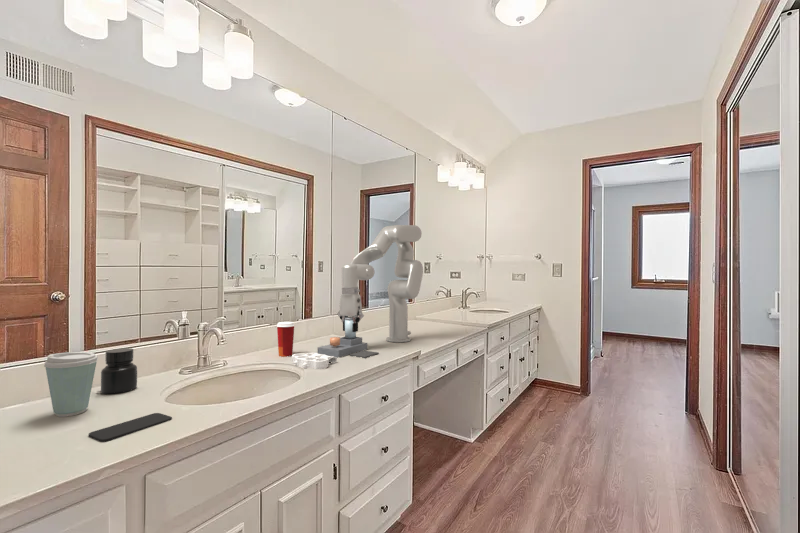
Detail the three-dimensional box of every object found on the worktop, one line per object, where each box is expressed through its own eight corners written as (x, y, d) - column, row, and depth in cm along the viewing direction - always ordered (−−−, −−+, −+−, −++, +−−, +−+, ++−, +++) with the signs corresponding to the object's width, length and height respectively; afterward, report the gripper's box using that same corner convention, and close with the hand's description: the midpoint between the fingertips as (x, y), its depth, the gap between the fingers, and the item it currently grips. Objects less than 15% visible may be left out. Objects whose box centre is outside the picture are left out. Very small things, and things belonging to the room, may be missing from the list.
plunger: (334, 351, 171) (334, 336, 171) (342, 352, 169) (342, 337, 169) (327, 353, 167) (327, 338, 167) (335, 354, 165) (335, 339, 165)
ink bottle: (141, 384, 122) (142, 346, 123) (134, 392, 114) (134, 352, 114) (104, 387, 119) (105, 348, 119) (94, 396, 111) (94, 354, 111)
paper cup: (297, 353, 168) (297, 321, 168) (290, 357, 161) (291, 324, 161) (280, 353, 169) (280, 321, 169) (272, 357, 161) (273, 323, 162)
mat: (364, 351, 173) (364, 350, 173) (378, 353, 168) (378, 352, 168) (349, 355, 164) (350, 354, 164) (365, 358, 160) (365, 356, 160)
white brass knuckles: (342, 365, 150) (313, 372, 139) (312, 358, 161) (282, 365, 150) (342, 356, 150) (313, 363, 139) (312, 350, 161) (282, 356, 150)
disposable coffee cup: (92, 402, 106) (92, 347, 106) (103, 411, 99) (104, 353, 99) (39, 413, 97) (40, 353, 97) (47, 424, 90) (48, 360, 91)
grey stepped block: (347, 346, 184) (347, 335, 184) (367, 349, 178) (367, 337, 178) (317, 354, 167) (317, 341, 167) (338, 357, 161) (338, 344, 161)
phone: (174, 417, 94) (103, 440, 81) (174, 420, 94) (103, 444, 81) (156, 412, 98) (86, 433, 84) (156, 415, 98) (86, 437, 84)
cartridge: (349, 335, 180) (349, 316, 180) (358, 336, 178) (358, 317, 178) (342, 337, 176) (342, 317, 176) (351, 338, 173) (351, 318, 173)
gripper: (369, 291, 175) (370, 331, 175) (341, 290, 184) (341, 328, 184) (359, 292, 169) (360, 334, 169) (330, 291, 178) (330, 330, 178)
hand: (350, 330), depth 177 cm, fingers closed on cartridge, 5 cm apart
